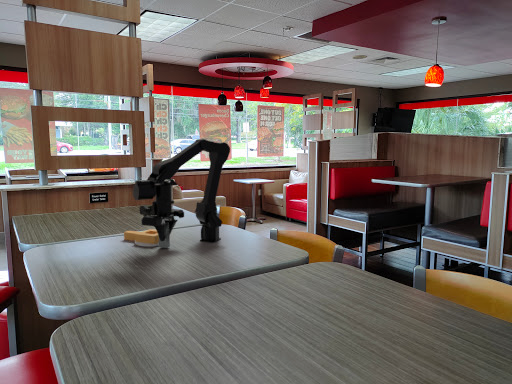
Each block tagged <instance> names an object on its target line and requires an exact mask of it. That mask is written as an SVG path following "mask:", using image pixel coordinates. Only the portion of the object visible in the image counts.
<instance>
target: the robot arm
mask: <svg viewBox="0 0 512 384" xmlns="http://www.w3.org/2000/svg"><path fill="white" fill-rule="evenodd" d="M202 152H206V153H208V159H209V162H210V165H209V170H208V175H207V179H206V185H205V188H204V194H203V197H202V200H201V201H200V202H199V201H198V202H196V206H195V210H194V213H195V217H196V219H197V220H198V221H199V225H201V228H200V239H199V242H204V243H211V244H214V243H216V242H219V241H220V240H221V239H222V238H221V237H220V227H222V224H223V220H222V219H221V218H220V217H219V216H218V207H217V202H216V199H217V195H218V190H219V185H220V180H221V177H222V176H221V175H222V171H223V166H224V165H225V164H226V162H227V161H228V158H229V155H230V153H231V147H230V146H229V144H228V143H227V142H221V141H220V142H218V141H216V142H215V141H211V140H207V139H205V138H201V139H200V138H198V139H196V140H195V141H194V142H193V143H191V144H189V145H188V146H187V147H185V148H183V150H181V151H180V152H178V153H177V154H175V155H174V156H172V157H170V158H168V159H164V160H162V161H159V162H157V163H156V164H154V165H153V166H152V171H151V173H150V174H149V176H148V178H147V179H146V180H140V179H139V180H135V181H134V185H133V189H132V196H133V198H134V200H135V201H145V200H152V203H151V205H146V204H143V205H139V215H141V216H143V217H142V218H141V223H140V224H141V226H147V227H148V226H149V227H154V228H155V230H157V233H158V235H159V238H160V241H164V238H165V234H166V230H167V225H168V223H169V232H170V235H171V234H172V232H173V229H174V228H175V225H176V223H178V219H175V217H178V218H179V219H182V218H185V211H184V210H183V209H179V208H178V209H177V208H173V204H175V200H173V198H172V196H173V195H172V192H173V191H172V189H173V188H172V186H177V185H178V183H177V182H176V181H175V180H174V179H173V177H174V176H175V175H177V173H178V171H179V170H180V168H181V167H182V166H184V165H185V164H186V163H188V162H189V161H190V160H192V159H193V158H195V157H196V156H198V154H200V153H202ZM154 198H155V199H154ZM153 199H154V200H153ZM165 222H168V223H165Z"/></svg>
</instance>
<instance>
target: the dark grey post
mask: <svg viewBox="0 0 512 384" xmlns="http://www.w3.org/2000/svg"><path fill="white" fill-rule="evenodd" d="M165 223H168V222H165ZM170 236H171V234H170V232H169V223H168V225H167V230H166V234H165V238H164V241H160V238H159V246H158V248H161V249H167V248H170V246H171V243H170Z"/></svg>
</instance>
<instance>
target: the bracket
mask: <svg viewBox="0 0 512 384" xmlns="http://www.w3.org/2000/svg"><path fill="white" fill-rule="evenodd" d="M123 237H124V238H123V239H124V241H131V242H134V244H135V246H139V247H148V248H149V247H150V248H151V247H159V235H158V233H157V230H156V228H155V229H152V228H150V229H147V230H144V231H135V230H127V231H124V232H123Z"/></svg>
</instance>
